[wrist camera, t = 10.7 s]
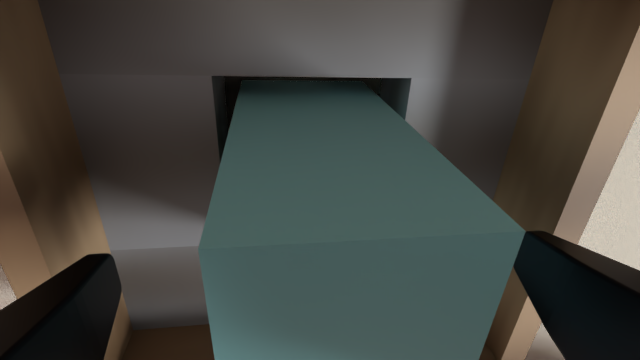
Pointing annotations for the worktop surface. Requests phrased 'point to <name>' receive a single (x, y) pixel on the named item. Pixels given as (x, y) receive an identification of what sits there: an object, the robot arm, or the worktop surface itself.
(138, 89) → the bore box
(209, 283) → the peg
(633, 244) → the worktop surface
